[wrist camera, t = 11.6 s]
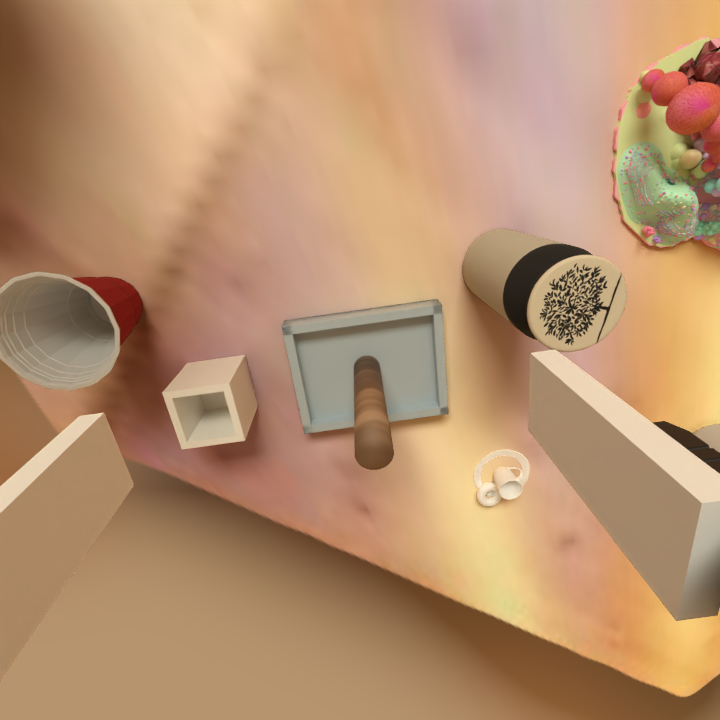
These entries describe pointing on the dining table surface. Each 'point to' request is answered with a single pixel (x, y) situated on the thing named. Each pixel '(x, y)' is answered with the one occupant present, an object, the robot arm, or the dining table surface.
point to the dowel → (371, 416)
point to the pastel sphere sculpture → (672, 149)
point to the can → (710, 436)
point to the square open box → (211, 402)
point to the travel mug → (546, 288)
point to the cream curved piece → (501, 479)
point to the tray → (368, 338)
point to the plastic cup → (65, 327)
